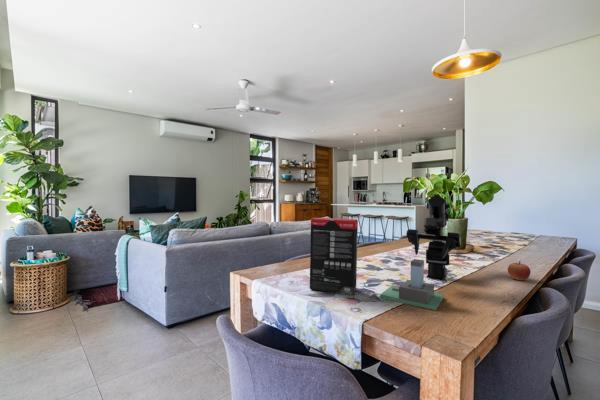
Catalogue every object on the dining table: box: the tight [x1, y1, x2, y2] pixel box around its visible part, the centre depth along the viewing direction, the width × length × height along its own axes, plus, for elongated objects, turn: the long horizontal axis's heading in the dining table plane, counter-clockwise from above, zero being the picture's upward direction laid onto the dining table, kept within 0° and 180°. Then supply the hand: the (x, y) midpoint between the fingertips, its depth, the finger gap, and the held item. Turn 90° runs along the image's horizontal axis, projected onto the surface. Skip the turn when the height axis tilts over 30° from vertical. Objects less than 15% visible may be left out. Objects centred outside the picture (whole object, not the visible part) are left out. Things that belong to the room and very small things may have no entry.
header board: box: [379, 279, 445, 311], centre depth 101 cm, size 18×13×5 cm
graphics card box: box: [309, 217, 359, 296], centre depth 108 cm, size 17×7×27 cm, turn 71°
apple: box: [507, 260, 532, 281], centre depth 124 cm, size 8×8×8 cm
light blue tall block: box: [410, 258, 425, 289], centre depth 98 cm, size 3×4×12 cm
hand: (429, 255), depth 107 cm, fingers open, 9 cm apart
